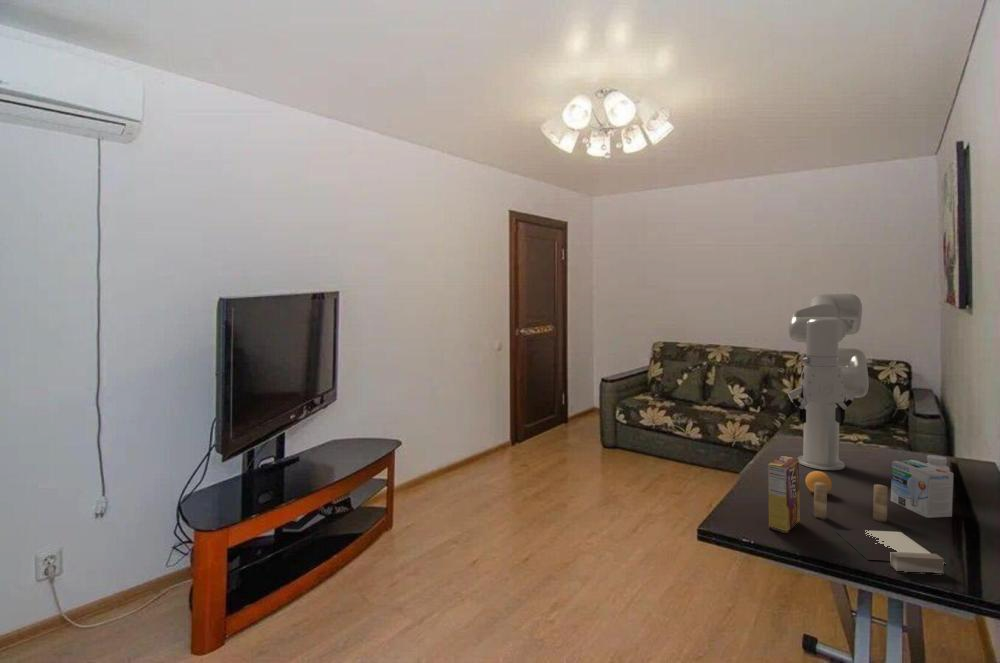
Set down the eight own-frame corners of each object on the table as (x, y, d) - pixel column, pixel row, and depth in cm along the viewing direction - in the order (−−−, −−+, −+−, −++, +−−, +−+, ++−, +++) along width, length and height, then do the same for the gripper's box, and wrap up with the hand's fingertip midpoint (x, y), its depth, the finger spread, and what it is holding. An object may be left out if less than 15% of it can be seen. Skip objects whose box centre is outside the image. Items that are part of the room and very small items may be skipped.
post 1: (811, 514, 123) (812, 482, 123) (823, 514, 123) (823, 482, 123) (816, 518, 121) (817, 486, 120) (828, 519, 120) (829, 486, 120)
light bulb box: (889, 501, 131) (890, 460, 130) (913, 500, 131) (914, 459, 131) (927, 518, 120) (928, 474, 120) (953, 517, 121) (955, 472, 120)
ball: (801, 488, 140) (801, 467, 140) (824, 489, 139) (825, 468, 139) (811, 497, 134) (811, 474, 134) (835, 498, 133) (836, 475, 133)
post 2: (870, 516, 121) (871, 484, 121) (882, 517, 121) (883, 484, 121) (877, 521, 119) (877, 488, 118) (889, 522, 118) (890, 488, 118)
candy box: (780, 517, 122) (781, 454, 121) (800, 522, 119) (801, 458, 118) (766, 528, 116) (767, 463, 115) (787, 534, 113) (788, 467, 112)
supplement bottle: (954, 497, 133) (955, 460, 132) (930, 495, 134) (931, 459, 133) (940, 489, 138) (941, 454, 138) (918, 488, 139) (919, 453, 139)
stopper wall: (890, 566, 99) (890, 551, 99) (935, 569, 98) (936, 553, 97) (896, 571, 97) (896, 556, 97) (943, 574, 96) (943, 559, 96)
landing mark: (832, 529, 115) (832, 528, 115) (900, 532, 113) (900, 531, 113) (867, 560, 101) (867, 559, 101) (945, 564, 99) (945, 563, 99)
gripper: (794, 363, 140) (793, 424, 141) (862, 363, 137) (861, 426, 138) (783, 360, 147) (782, 418, 148) (848, 360, 145) (846, 419, 146)
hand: (820, 422), depth 143 cm, fingers open, 9 cm apart
